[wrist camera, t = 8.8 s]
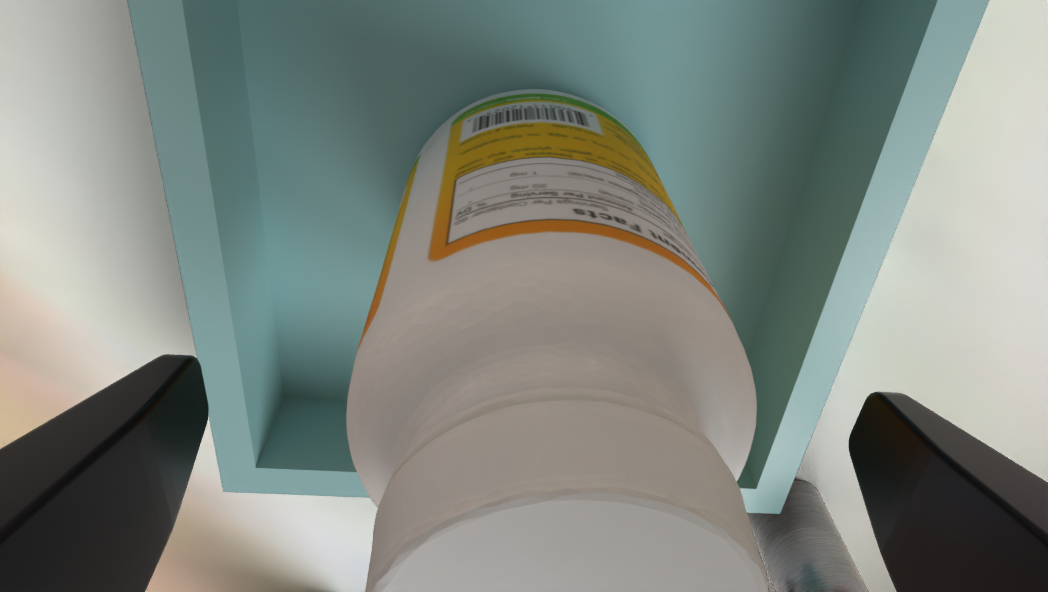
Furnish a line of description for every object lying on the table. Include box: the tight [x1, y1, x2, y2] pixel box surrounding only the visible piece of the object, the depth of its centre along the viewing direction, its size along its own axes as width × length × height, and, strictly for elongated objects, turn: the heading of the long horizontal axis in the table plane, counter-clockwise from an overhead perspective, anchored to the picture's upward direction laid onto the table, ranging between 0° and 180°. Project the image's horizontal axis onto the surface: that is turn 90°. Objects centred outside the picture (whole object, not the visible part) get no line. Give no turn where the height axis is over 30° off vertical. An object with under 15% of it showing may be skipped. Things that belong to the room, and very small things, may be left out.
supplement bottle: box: [346, 89, 769, 592], centre depth 11 cm, size 5×5×10 cm
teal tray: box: [127, 0, 989, 514], centre depth 14 cm, size 13×13×3 cm
